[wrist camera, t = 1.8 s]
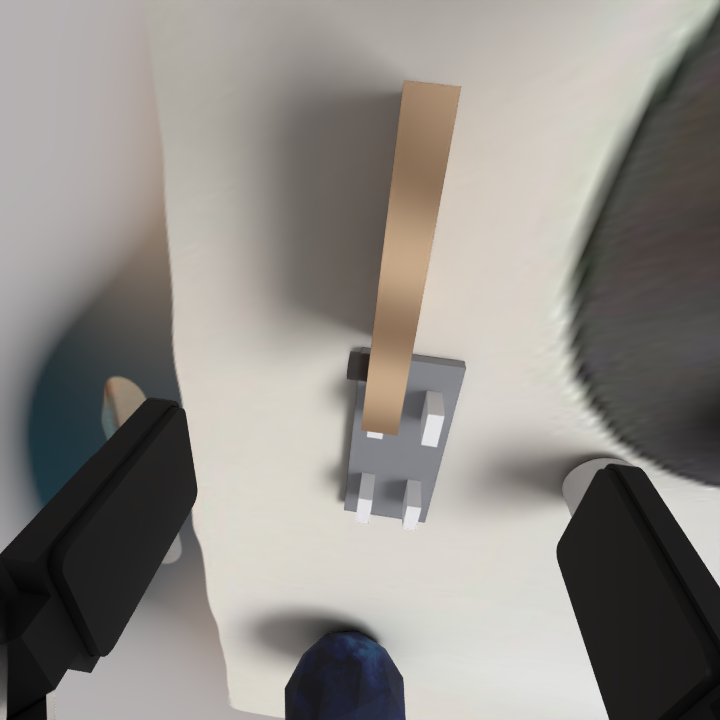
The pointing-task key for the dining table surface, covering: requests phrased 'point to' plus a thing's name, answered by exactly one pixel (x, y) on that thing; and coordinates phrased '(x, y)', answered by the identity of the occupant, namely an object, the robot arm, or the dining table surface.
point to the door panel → (406, 249)
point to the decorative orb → (345, 682)
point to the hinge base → (404, 445)
